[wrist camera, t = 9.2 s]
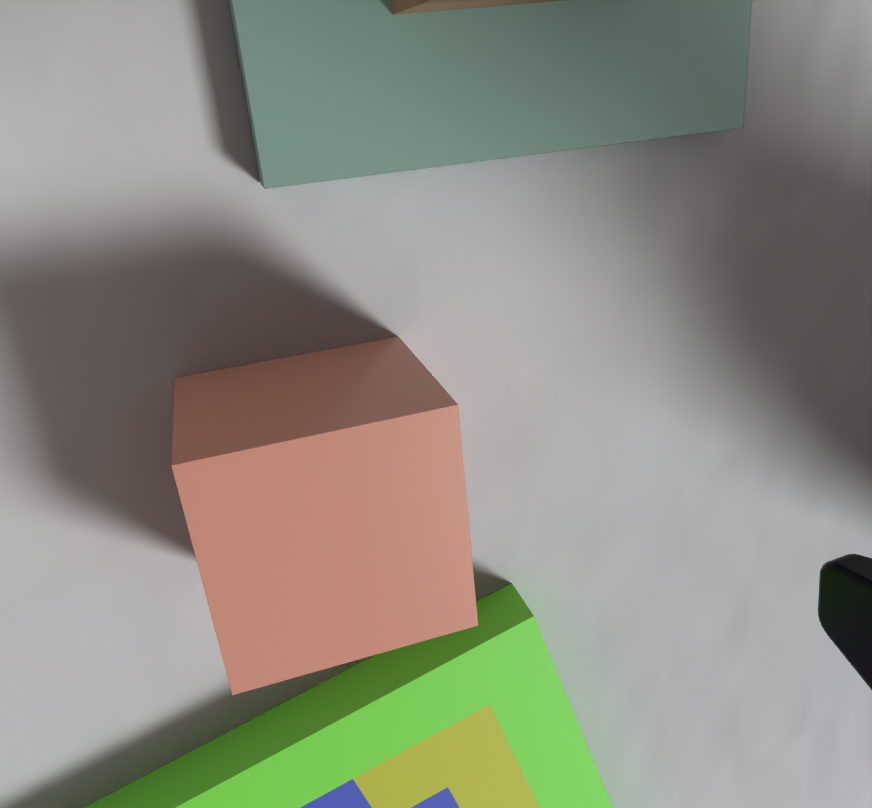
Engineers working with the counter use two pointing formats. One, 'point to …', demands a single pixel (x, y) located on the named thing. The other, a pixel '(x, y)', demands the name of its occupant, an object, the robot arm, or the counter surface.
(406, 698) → the green block puzzle board
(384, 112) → the base plate
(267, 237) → the counter surface
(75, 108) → the counter surface
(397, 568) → the salmon pink brick
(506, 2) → the walnut brick
